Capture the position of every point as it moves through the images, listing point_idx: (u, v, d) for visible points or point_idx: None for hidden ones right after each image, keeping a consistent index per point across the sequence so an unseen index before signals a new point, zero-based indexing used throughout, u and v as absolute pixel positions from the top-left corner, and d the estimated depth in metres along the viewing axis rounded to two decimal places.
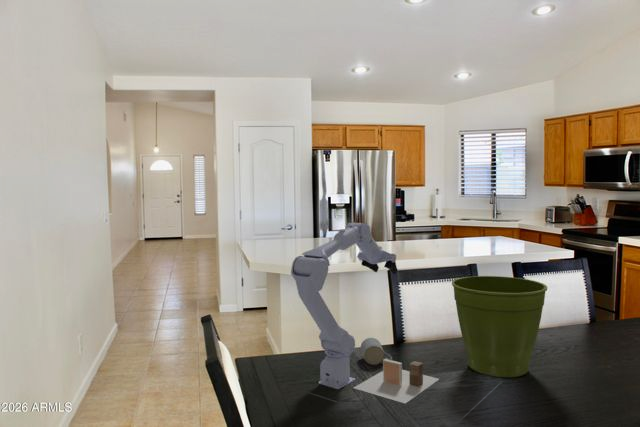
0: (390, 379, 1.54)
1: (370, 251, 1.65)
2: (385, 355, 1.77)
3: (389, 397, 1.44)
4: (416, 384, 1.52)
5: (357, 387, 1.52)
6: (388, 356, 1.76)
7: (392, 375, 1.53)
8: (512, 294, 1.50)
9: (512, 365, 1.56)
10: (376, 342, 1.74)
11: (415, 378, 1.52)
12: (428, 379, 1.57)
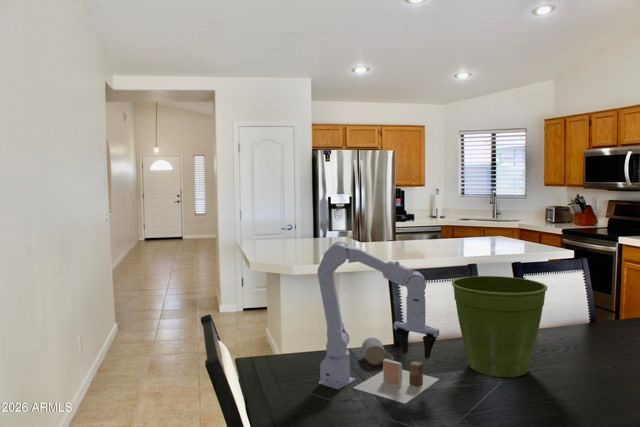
0: (390, 379, 1.54)
1: (409, 309, 1.51)
2: (386, 355, 1.77)
3: (389, 397, 1.44)
4: (416, 384, 1.52)
5: (357, 387, 1.52)
6: (389, 356, 1.76)
7: (392, 375, 1.53)
8: (512, 294, 1.50)
9: (512, 365, 1.56)
10: (377, 342, 1.74)
11: (415, 378, 1.52)
12: (428, 379, 1.57)
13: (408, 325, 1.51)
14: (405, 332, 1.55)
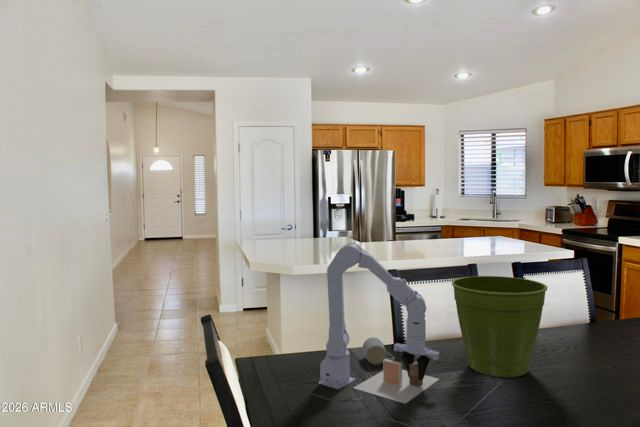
0: (390, 379, 1.54)
1: (409, 332, 1.51)
2: (387, 355, 1.77)
3: (389, 397, 1.44)
4: (416, 384, 1.52)
5: (357, 387, 1.52)
6: (390, 356, 1.76)
7: (392, 375, 1.53)
8: (512, 294, 1.50)
9: (512, 365, 1.56)
10: (378, 342, 1.74)
11: (415, 378, 1.52)
12: (428, 379, 1.57)
13: (408, 348, 1.52)
14: (411, 355, 1.54)
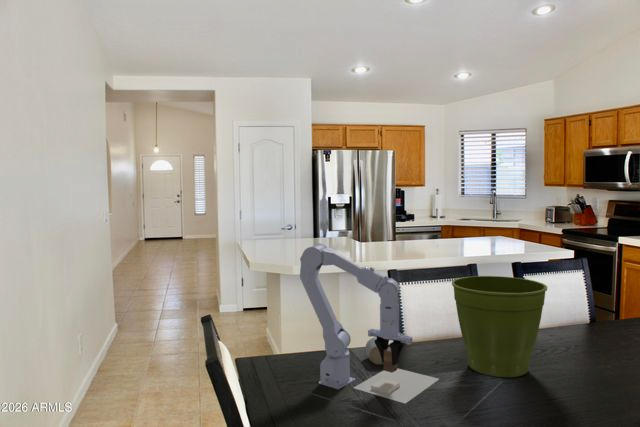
0: None
1: (381, 316, 1.50)
2: None
3: (389, 397, 1.44)
4: (390, 370, 1.51)
5: (357, 387, 1.52)
6: None
7: None
8: (512, 294, 1.50)
9: (512, 365, 1.56)
10: None
11: (389, 364, 1.51)
12: (428, 379, 1.57)
13: (381, 333, 1.51)
14: (385, 341, 1.53)
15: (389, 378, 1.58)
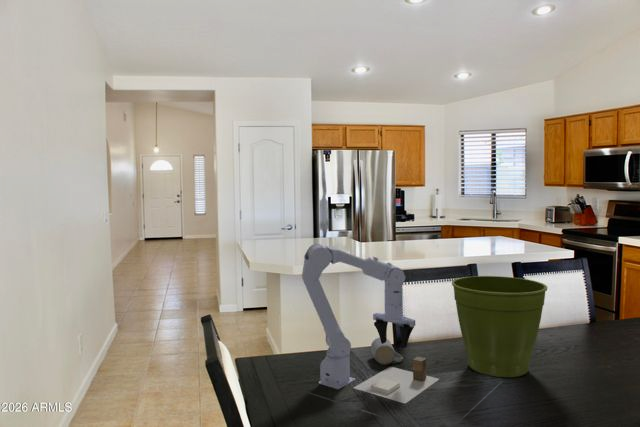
0: None
1: (389, 301, 1.57)
2: (395, 355, 1.77)
3: (389, 397, 1.44)
4: (419, 379, 1.56)
5: (357, 387, 1.52)
6: (398, 356, 1.76)
7: None
8: (512, 294, 1.50)
9: (512, 365, 1.56)
10: (387, 342, 1.74)
11: (418, 373, 1.56)
12: (428, 379, 1.57)
13: (386, 316, 1.58)
14: (384, 323, 1.62)
15: (389, 378, 1.58)
